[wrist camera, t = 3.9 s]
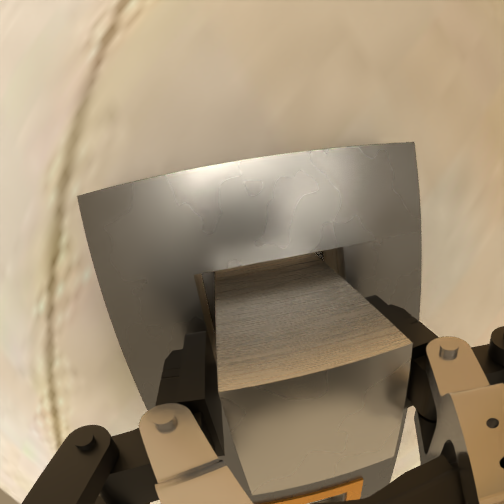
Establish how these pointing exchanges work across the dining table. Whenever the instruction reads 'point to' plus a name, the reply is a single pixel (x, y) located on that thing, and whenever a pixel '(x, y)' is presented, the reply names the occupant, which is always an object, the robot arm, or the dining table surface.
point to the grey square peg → (306, 372)
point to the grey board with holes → (254, 256)
